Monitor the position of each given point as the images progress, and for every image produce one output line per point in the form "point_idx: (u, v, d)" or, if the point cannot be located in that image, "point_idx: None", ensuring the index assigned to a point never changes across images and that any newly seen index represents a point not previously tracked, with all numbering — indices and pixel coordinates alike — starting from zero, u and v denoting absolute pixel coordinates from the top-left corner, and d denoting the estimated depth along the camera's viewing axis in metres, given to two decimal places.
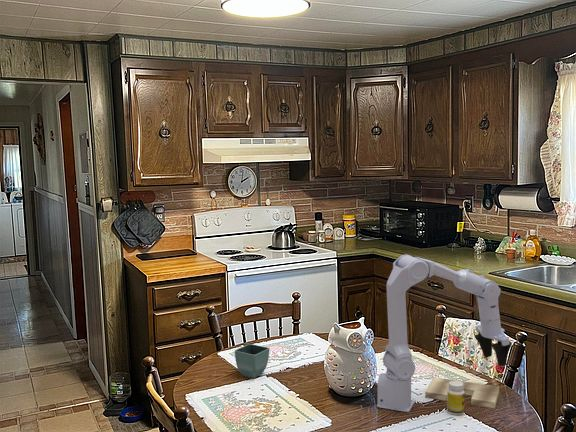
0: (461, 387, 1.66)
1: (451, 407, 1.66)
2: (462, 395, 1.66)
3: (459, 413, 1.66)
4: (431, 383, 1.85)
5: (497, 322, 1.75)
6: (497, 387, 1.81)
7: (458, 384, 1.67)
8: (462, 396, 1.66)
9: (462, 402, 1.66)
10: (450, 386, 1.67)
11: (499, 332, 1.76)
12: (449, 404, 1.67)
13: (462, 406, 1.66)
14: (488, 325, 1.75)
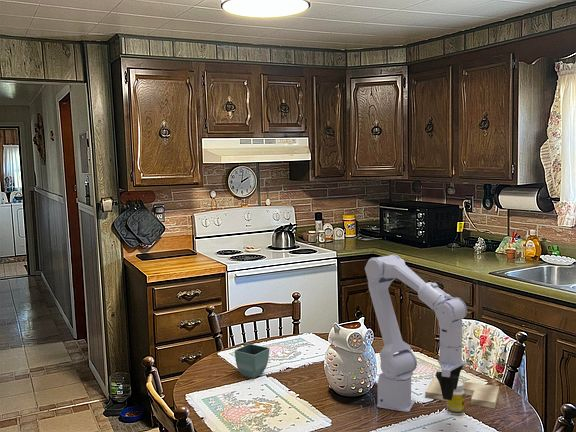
0: (461, 387, 1.66)
1: (451, 407, 1.66)
2: (462, 395, 1.66)
3: (459, 413, 1.66)
4: (431, 383, 1.85)
5: (451, 350, 1.54)
6: (497, 387, 1.81)
7: (458, 384, 1.67)
8: (462, 396, 1.66)
9: (462, 402, 1.66)
10: None
11: (452, 362, 1.54)
12: (449, 404, 1.67)
13: (462, 406, 1.66)
14: (441, 350, 1.56)
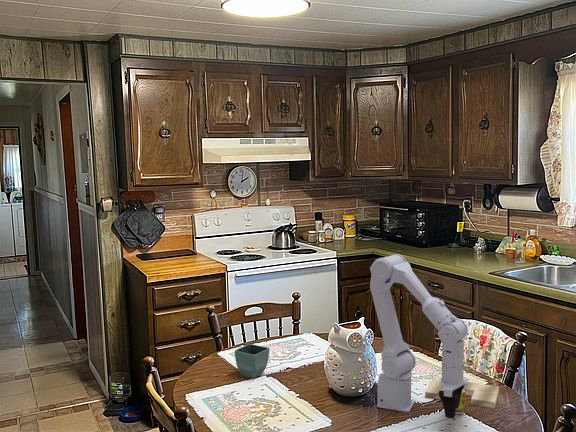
0: None
1: None
2: (462, 393, 1.66)
3: (459, 412, 1.66)
4: (431, 383, 1.85)
5: (453, 371, 1.58)
6: (497, 387, 1.81)
7: None
8: (462, 395, 1.66)
9: (463, 401, 1.66)
10: None
11: (454, 382, 1.58)
12: None
13: (462, 405, 1.66)
14: (443, 370, 1.60)
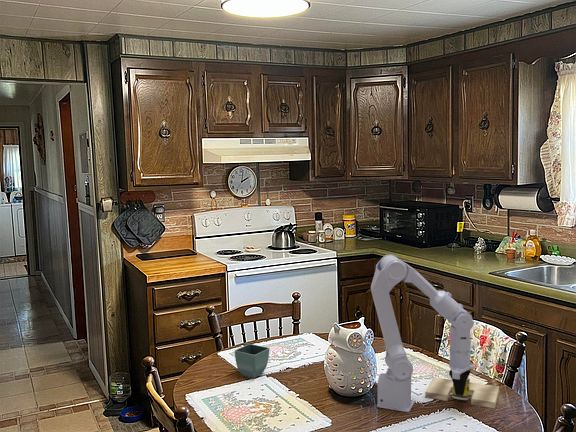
0: None
1: None
2: (467, 380, 1.75)
3: (464, 398, 1.73)
4: (431, 383, 1.85)
5: (461, 355, 1.70)
6: (497, 387, 1.81)
7: None
8: (467, 381, 1.75)
9: (467, 387, 1.74)
10: None
11: (462, 366, 1.70)
12: (454, 389, 1.75)
13: (467, 391, 1.74)
14: (451, 355, 1.71)
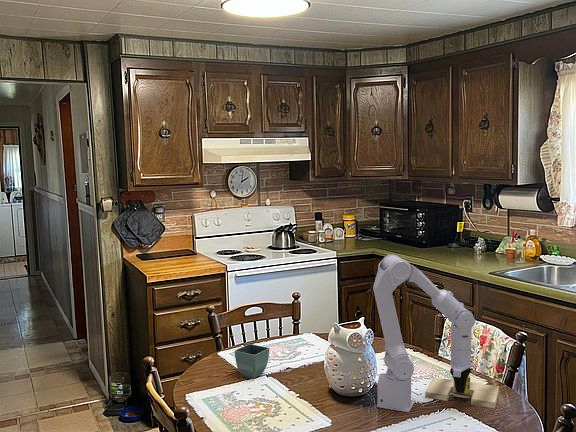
0: None
1: None
2: (468, 378, 1.76)
3: (464, 396, 1.75)
4: (431, 383, 1.85)
5: (461, 353, 1.71)
6: (497, 387, 1.81)
7: None
8: (468, 379, 1.76)
9: (468, 385, 1.76)
10: None
11: (462, 364, 1.71)
12: None
13: (467, 389, 1.76)
14: (452, 353, 1.73)
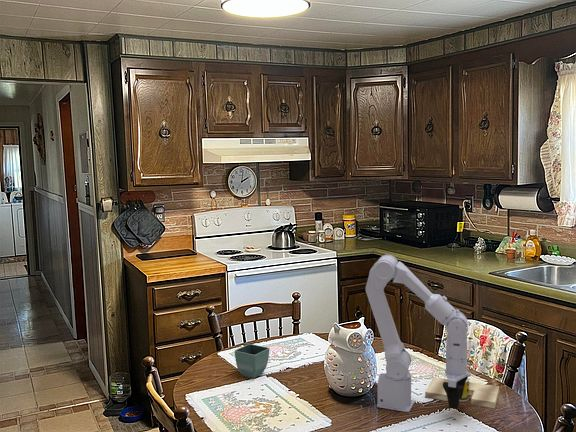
0: None
1: None
2: (466, 382, 1.75)
3: (464, 400, 1.75)
4: (431, 383, 1.85)
5: (457, 362, 1.64)
6: (497, 387, 1.81)
7: None
8: (467, 384, 1.75)
9: (467, 389, 1.75)
10: None
11: (458, 373, 1.64)
12: None
13: (467, 393, 1.75)
14: (448, 362, 1.66)
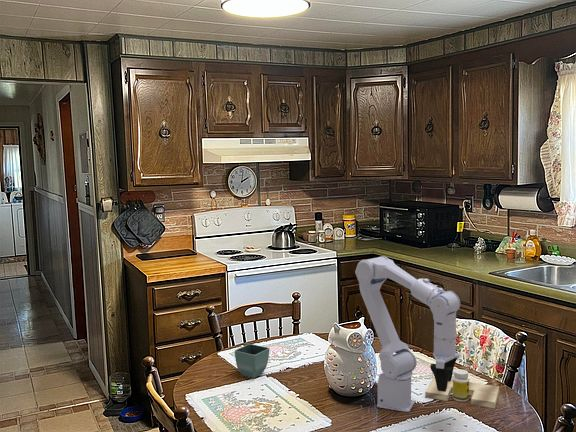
0: (466, 375, 1.75)
1: (457, 394, 1.75)
2: (466, 382, 1.75)
3: (464, 400, 1.75)
4: (431, 383, 1.85)
5: (445, 343, 1.57)
6: (497, 387, 1.81)
7: (463, 372, 1.76)
8: (467, 384, 1.75)
9: (467, 389, 1.75)
10: (455, 374, 1.76)
11: (446, 355, 1.57)
12: (454, 391, 1.76)
13: (467, 393, 1.75)
14: (435, 343, 1.59)
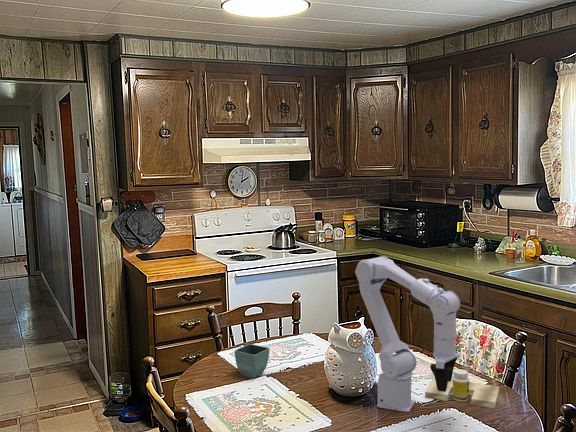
0: (466, 375, 1.75)
1: (457, 394, 1.75)
2: (466, 382, 1.75)
3: (464, 400, 1.75)
4: (431, 383, 1.85)
5: (445, 343, 1.57)
6: (497, 387, 1.81)
7: (463, 372, 1.76)
8: (467, 383, 1.75)
9: (467, 389, 1.75)
10: (455, 374, 1.76)
11: (446, 355, 1.57)
12: (454, 391, 1.76)
13: (467, 393, 1.75)
14: (435, 343, 1.59)
